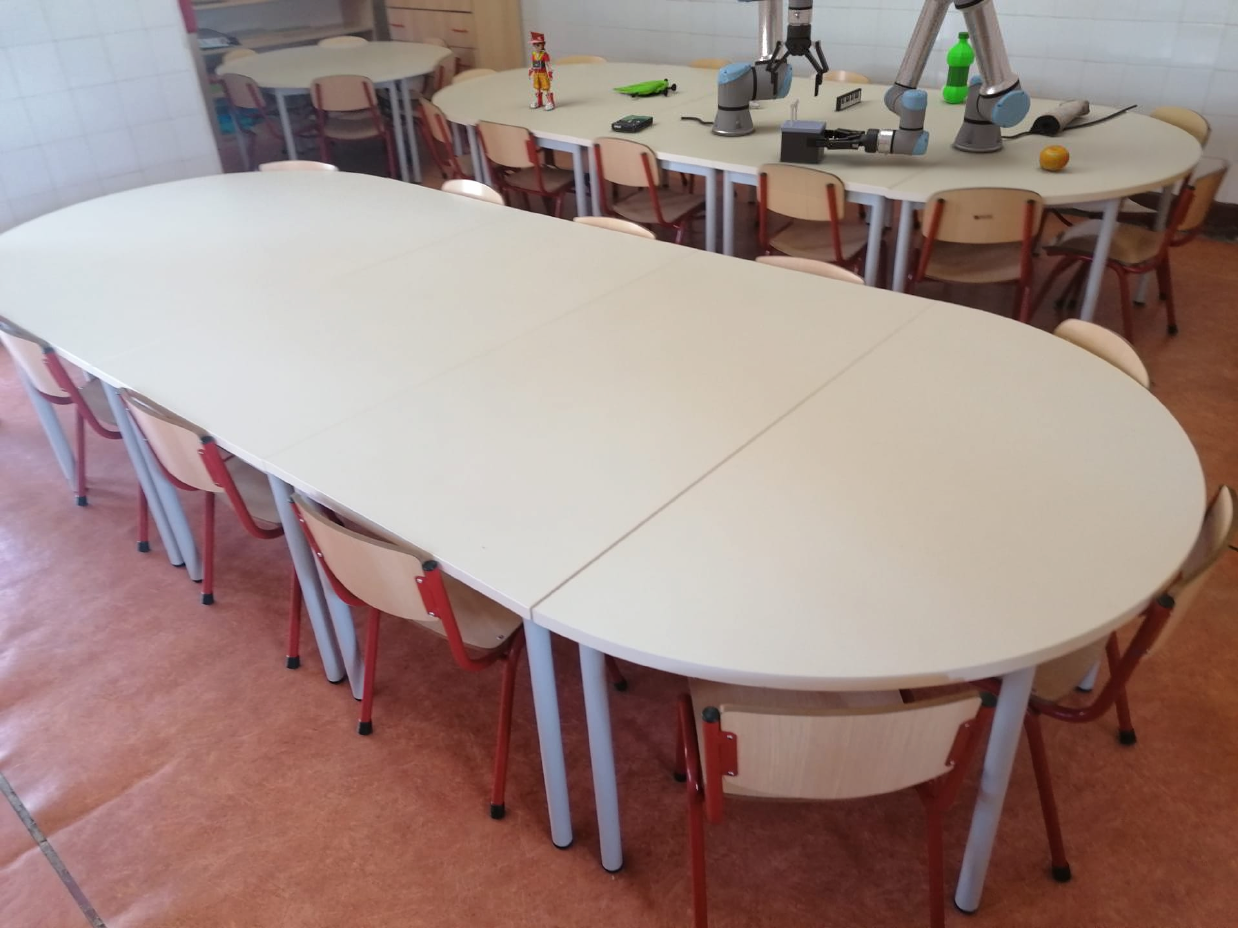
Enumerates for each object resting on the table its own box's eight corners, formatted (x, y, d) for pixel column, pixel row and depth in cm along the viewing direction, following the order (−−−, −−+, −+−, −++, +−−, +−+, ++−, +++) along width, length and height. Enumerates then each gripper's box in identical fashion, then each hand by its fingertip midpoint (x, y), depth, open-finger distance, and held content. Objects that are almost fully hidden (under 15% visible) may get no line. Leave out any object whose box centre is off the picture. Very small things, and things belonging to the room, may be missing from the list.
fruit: (1034, 160, 277) (1052, 137, 274) (1032, 163, 285) (1050, 140, 282) (1057, 176, 276) (1076, 152, 273) (1055, 178, 284) (1073, 155, 281)
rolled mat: (1057, 104, 331) (1081, 87, 323) (1070, 125, 332) (1095, 108, 324) (1024, 126, 314) (1049, 109, 306) (1039, 148, 314) (1064, 131, 306)
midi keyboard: (838, 111, 353) (839, 97, 350) (835, 110, 353) (836, 97, 350) (860, 101, 363) (861, 88, 360) (857, 101, 364) (859, 88, 361)
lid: (780, 131, 297) (781, 105, 292) (787, 123, 305) (788, 97, 300) (819, 133, 293) (821, 106, 288) (826, 125, 300) (828, 99, 295)
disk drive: (634, 134, 341) (653, 123, 351) (633, 126, 339) (653, 116, 349) (611, 131, 346) (631, 121, 356) (610, 123, 344) (630, 114, 354)
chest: (780, 161, 303) (781, 131, 297) (787, 153, 310) (788, 123, 304) (817, 164, 298) (819, 133, 293) (823, 155, 306) (826, 125, 300)
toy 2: (686, 85, 398) (631, 84, 414) (685, 72, 395) (629, 72, 411) (651, 104, 381) (596, 103, 397) (650, 92, 378) (594, 91, 394)
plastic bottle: (973, 101, 354) (984, 32, 339) (955, 106, 349) (966, 36, 335) (952, 97, 361) (962, 29, 346) (934, 102, 356) (944, 33, 342)
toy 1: (525, 109, 381) (517, 32, 364) (534, 104, 388) (527, 28, 371) (550, 110, 377) (543, 32, 360) (559, 105, 384) (553, 28, 367)
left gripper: (757, 25, 283) (755, 96, 295) (837, 26, 275) (831, 99, 286) (763, 21, 289) (761, 91, 301) (841, 22, 280) (836, 93, 292)
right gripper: (871, 163, 285) (802, 158, 293) (882, 143, 302) (816, 140, 310) (874, 138, 281) (803, 135, 289) (885, 120, 298) (818, 117, 306)
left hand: (795, 95), depth 294 cm, fingers open, 13 cm apart
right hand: (810, 137), depth 299 cm, fingers closed on chest, 10 cm apart
